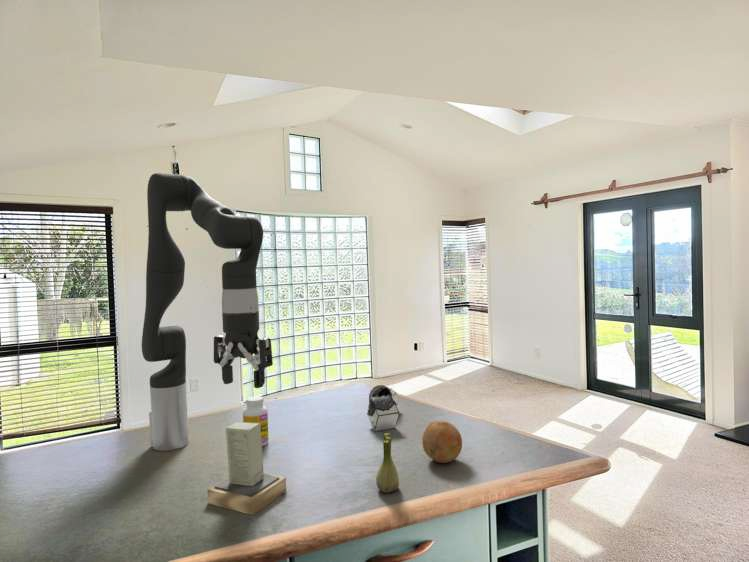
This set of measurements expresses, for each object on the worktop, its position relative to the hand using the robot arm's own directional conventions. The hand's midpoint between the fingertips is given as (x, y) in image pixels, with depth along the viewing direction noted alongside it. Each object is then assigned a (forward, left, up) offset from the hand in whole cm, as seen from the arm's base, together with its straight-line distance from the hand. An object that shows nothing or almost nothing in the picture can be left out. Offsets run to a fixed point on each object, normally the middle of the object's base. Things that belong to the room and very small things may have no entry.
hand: (243, 385), depth 105 cm
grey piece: (+6, +57, -24) cm, 62 cm away
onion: (+33, +33, -24) cm, 53 cm away
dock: (+1, -1, -24) cm, 24 cm away
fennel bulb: (+27, +14, -24) cm, 39 cm away
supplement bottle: (-18, +24, -24) cm, 39 cm away
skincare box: (0, -1, -21) cm, 21 cm away
